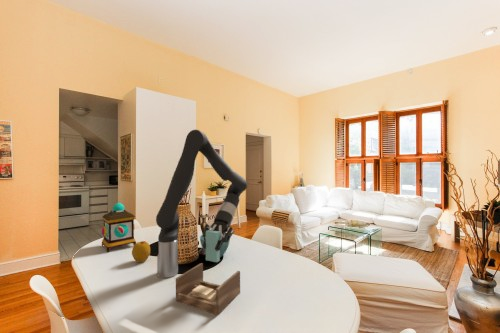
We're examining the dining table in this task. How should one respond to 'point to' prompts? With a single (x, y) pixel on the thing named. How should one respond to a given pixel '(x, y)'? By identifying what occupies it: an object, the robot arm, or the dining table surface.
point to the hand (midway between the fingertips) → (210, 249)
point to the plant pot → (222, 249)
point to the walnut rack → (223, 291)
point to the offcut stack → (204, 293)
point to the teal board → (212, 245)
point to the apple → (141, 251)
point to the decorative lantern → (118, 227)
